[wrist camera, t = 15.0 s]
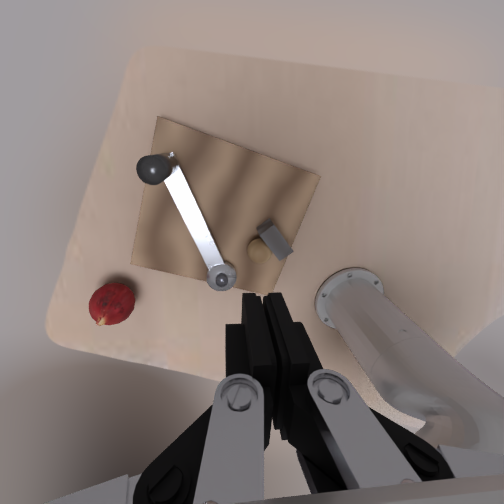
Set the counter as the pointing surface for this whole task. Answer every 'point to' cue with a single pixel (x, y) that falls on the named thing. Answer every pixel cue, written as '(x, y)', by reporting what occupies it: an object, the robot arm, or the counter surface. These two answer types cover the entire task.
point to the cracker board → (223, 209)
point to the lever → (188, 214)
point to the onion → (111, 304)
